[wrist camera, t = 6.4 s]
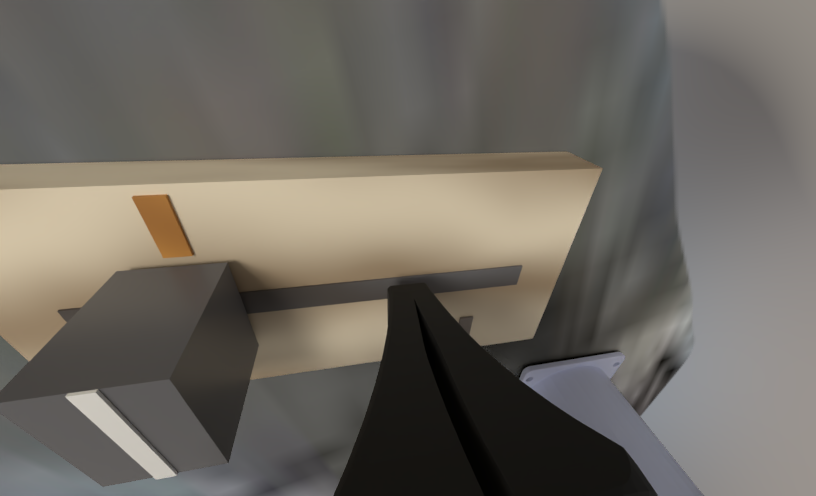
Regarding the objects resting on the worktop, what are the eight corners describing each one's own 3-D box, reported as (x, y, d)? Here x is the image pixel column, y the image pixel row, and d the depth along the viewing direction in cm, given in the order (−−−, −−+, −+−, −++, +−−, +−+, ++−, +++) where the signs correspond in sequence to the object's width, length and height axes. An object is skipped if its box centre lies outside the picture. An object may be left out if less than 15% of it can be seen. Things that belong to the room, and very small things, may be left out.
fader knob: (258, 345, 12) (227, 465, 8) (171, 356, 11) (101, 490, 8) (227, 262, 9) (167, 382, 6) (116, 271, 9) (-17, 408, 5)
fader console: (514, 310, 17) (534, 340, 15) (108, 361, 14) (74, 407, 12) (567, 151, 12) (604, 169, 10) (-59, 165, 8) (-160, 196, 7)
